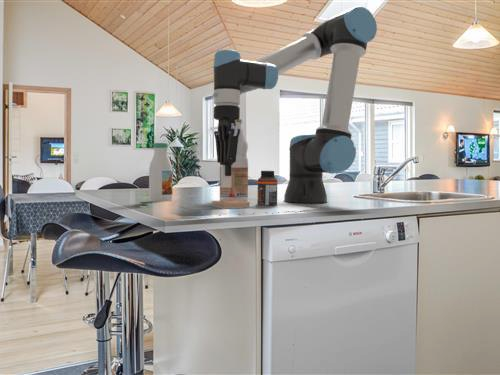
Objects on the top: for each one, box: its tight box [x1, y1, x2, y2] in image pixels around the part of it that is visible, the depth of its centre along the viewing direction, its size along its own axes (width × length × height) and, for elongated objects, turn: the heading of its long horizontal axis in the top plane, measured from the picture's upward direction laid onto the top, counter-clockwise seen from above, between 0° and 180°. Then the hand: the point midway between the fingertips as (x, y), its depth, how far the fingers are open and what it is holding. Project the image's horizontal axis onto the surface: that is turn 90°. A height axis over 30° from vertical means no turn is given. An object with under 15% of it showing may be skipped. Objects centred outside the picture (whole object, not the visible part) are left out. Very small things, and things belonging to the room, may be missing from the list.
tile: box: [211, 200, 250, 210], centre depth 127 cm, size 8×2×8 cm
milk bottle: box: [148, 142, 173, 203], centre depth 149 cm, size 8×8×20 cm
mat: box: [178, 204, 254, 211], centre depth 126 cm, size 18×13×1 cm
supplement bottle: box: [257, 170, 278, 207], centre depth 134 cm, size 6×6×11 cm
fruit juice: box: [219, 118, 249, 202], centre depth 147 cm, size 9×9×28 cm
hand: (226, 187), depth 129 cm, fingers closed
